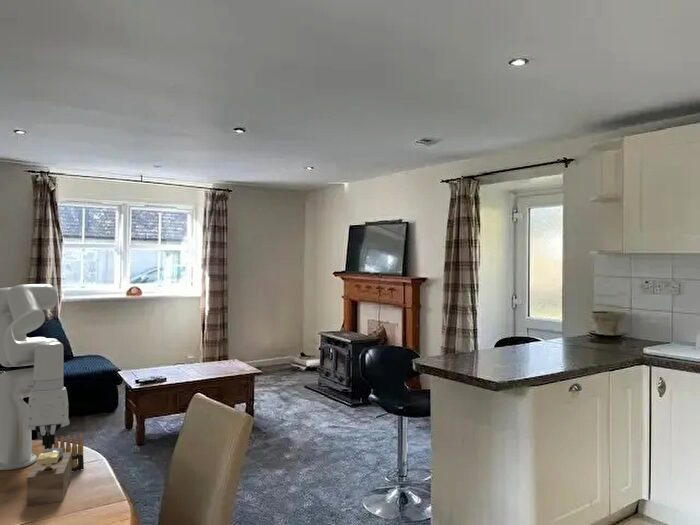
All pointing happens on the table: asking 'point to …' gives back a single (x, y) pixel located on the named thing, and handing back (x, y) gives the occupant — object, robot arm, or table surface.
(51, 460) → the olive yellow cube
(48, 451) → the pin
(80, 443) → the ammunition clip
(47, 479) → the block
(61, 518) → the table surface
